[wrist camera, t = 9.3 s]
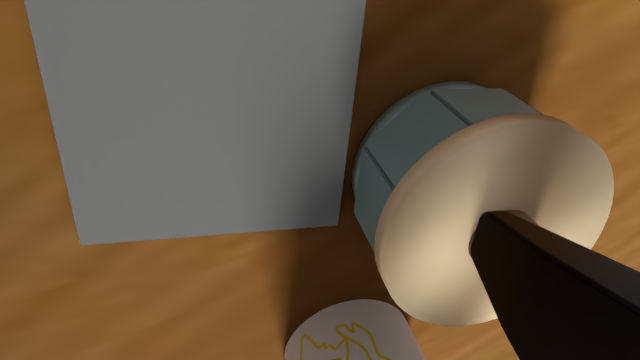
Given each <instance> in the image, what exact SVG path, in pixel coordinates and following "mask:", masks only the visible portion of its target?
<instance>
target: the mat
mask: <svg viewBox="0 0 640 360" xmlns="http://www.w3.org/2000/svg"><path fill="white" fill-rule="evenodd" d="M24 2H25V6H26V11H27V15H28V19H29V24H30V28H31V32H32V37H33V41H34V45H35V50H36V54H37V58H38V63H39V67H40V71H41V76H42V80H43V85H44V89H45V93H46V98H47V102H48V106H49V111H50V115H51V119H52V124H53V128H54V132H55V137H56V141H57V145H58V150H59V154H60V159H61V163H62V167H63V172H64V176H65V180H66V185H67V189H68V193H69V198H70V202H71V206H72V211H73V215H74V219H75V224H76V228H77V232H78V237H79V241H80V245H91V244H104V243H117V242H130V241H143V240H156V239H169V238H182V237H195V236H208V235H221V234H234V233H247V232H260V231H273V230H286V229H299V228H312V227H325V226H338V221H339V213H340V205H341V197H342V189H343V182H344V174H345V166H346V158H347V150H348V142H349V134H350V126H351V118H352V110H353V102H354V94H355V86H356V78H357V71H358V63H359V55H360V47H361V39H362V31H363V23H364V15H365V7H366V0H24Z"/></svg>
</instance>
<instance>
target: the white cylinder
mask: <svg viewBox="0 0 640 360" xmlns="http://www.w3.org/2000/svg"><path fill="white" fill-rule="evenodd" d="M284 360H426V359H425V357H424V355H423V353H422V351H421V349H420V347H419V345H418V343H417V341H416V339H415V337H414V335H413V333H412V331H411V329H410V327H409V325H408V323H407V321H406V319H405V317H404V315H403V314H402V313H401V312H400V311H399V310H398V309H397V308H396V307H394V306H393V305H391V304H388V303H386V302H383V301H379V300H372V299H358V300H350V301H345V302H341V303H338V304H335V305H332V306H330V307H327V308H325V309H323V310H321V311H319V312H317V313H316V314H314V315H312V316H311V317H310V318H308V319H307V320H306V321H304V322H303V323H302V324H301V325H300V326H299V327H298V328H297V329H296V330H295V332H294V333H293V334H292V336H291V337H290V339H289V341H288V343H287V345H286V348H285V354H284Z"/></svg>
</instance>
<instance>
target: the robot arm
mask: <svg viewBox="0 0 640 360" xmlns="http://www.w3.org/2000/svg"><path fill="white" fill-rule="evenodd" d="M470 252H471V257H472V260H473V263H474V265H475V267H476V269H477V272H478V274H479V276H480V279H481V281H482V283H483V286H484V288H485V290H486V292H487V295H488V297H489V299H490V302H491V304H492V306H493V308H494V311H495V313H496V315H497V318H498V320H499V322H500V324H501V326H502V328H503V330H504V332H505V334H506V336H507V338H508V339H509V341H510V343H511V345H512V347H513V348H514V350H515V352H516V354H517V355H518V357H519V359H520V360H640V272H638V271H636V270H634V269H632V268H630V267H627V266H625V265H623V264H621V263H619V262H617V261H614V260H612V259H610V258H608V257H606V256H603V255H601V254H599V253H597V252H595V251H593V250H590V249H588V248H586V247H584V246H582V245H580V244H577V243H575V242H573V241H571V240H569V239H566V238H564V237H562V236H560V235H558V234H556V233H553V232H551V231H549V230H547V229H545V228H542V227H540V226H538V225H536V224H534V223H532V222H529V221H527V220H525V219H523V218H521V217H518V216H516V215H514V214H512V213H510V212H508V211H504V210H497V211H486V212H484V213H483V214H482V215H481V216H480V218H479V221H478V224H477V227H476V230H475V233H474V237H473V240H472V243H471V249H470Z"/></svg>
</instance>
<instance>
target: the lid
mask: <svg viewBox="0 0 640 360" xmlns="http://www.w3.org/2000/svg"><path fill="white" fill-rule="evenodd" d="M613 194H614V177H613V172H612V167H611V165H610V162H609V160H608V157H607V156H606V154H605V153H604V151H603V150H602V148H601V147H600V146H599V145H598V144H597V143H596V142H595V141H594V140H593V139H591V138H590V137H588V136H587V135H585V134H583V133H582V132H580V131H579V130H577V129H576V128H574V127H572V126H571V125H569V124H567V123H566V122H564V121H562V120H559V119H557V118H554V117H552V116H547V115H542V114H533V113H518V114H508V115H503V116H498V117H494V118H490V119H487V120H484V121H481V122H478V123H476V124H473V125H471V126H469V127H467V128H464V129H462V130H460V131H458V132H456V133H455V134H453V135H451V136H450V137H448V138H446V139H445V140H443V141H441V142H440V143H439V144H437V145H436V146H435V147H433V148H432V149H431V150H429V151H428V152H427V153H426V154H425V155H423V156H422V157H421V158H420V159H419V160H418V161H417V162H416V163H415V164H414V165H413V166H412V167H411V168H410V169H409V170H408V172H407V173H406V174H405V175H404V176H403V177H402V178H401V180H400V181H399V183H398V184H397V185H396V187H395V188H394V190H393V191H392V193H391V194H390V196H389V198H388V200H387V202H386V204H385V206H384V208H383V210H382V213H381V215H380V218H379V220H378V225H377V229H376V233H375V242H374V252H375V261H376V264H377V268H378V271H379V273H380V275H381V277H382V280H383V282H384V284H385V286H386V288H387V290H388V292H389V294H390V296H391V297H392V299H393V300H394V301H395V303H396V304H397V305H398V306H399V307H400V308H401V309H402V310H403V311H404V312H406V313H407V314H409V315H411V316H412V317H414V318H416V319H419V320H421V321H423V322H427V323H431V324H435V325H443V326H463V325H472V324H477V323H482V322H486V321H490V320H493V319H497V315H496V313H495V311H494V308H493V306H492V304H491V302H490V299H489V297H488V295H487V292H486V290H485V288H484V286H483V283H482V281H481V279H480V276H479V274H478V272H477V269H476V267H475V265H474V263H473V260H472V257H471V252H470V249H471V243H472V240H473V237H474V233H475V230H476V227H477V224H478V221H479V218H480V216H481V215H482V214H483V213H484V212H486V211H497V210H504V211H508V212H510V213H512V214H514V215H516V216H518V217H521V218H523V219H525V220H527V221H529V222H532V223H534V224H536V225H538V226H540V227H542V228H545V229H547V230H549V231H551V232H553V233H556V234H558V235H560V236H562V237H564V238H566V239H569V240H571V241H573V242H575V243H577V244H580V245H582V246H584V247H586V248H588V249H590V250H591V248H592V247H593V245H594V244H595V242H596V241H597V239H598V237H599V236H600V234H601V232H602V230H603V228H604V226H605V223H606V221H607V219H608V216H609V213H610V209H611V206H612V201H613Z"/></svg>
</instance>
